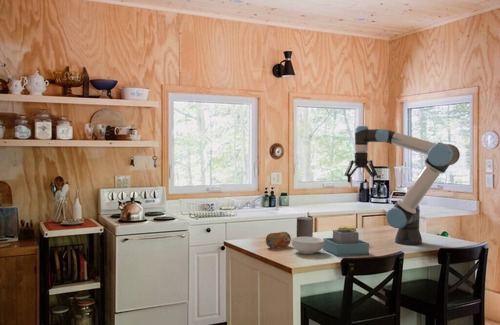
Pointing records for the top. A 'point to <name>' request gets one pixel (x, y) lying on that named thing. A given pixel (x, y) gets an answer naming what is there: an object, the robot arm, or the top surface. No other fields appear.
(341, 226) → the cheese
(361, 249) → the teal crate
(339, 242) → the block
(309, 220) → the pillar candle
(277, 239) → the tin
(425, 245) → the top surface
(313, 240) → the cereal bowl
